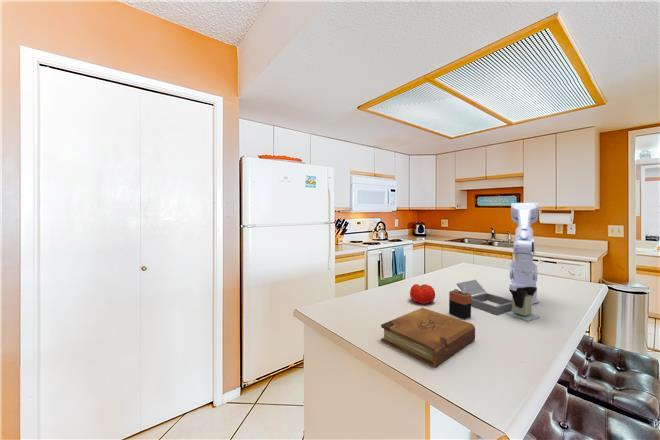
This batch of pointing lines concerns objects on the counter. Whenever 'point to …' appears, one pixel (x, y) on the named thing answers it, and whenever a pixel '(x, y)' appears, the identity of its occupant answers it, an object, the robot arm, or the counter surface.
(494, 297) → the case
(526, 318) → the mat
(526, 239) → the robot arm
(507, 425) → the counter surface
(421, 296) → the tomato
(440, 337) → the diary
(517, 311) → the block
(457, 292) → the battery
